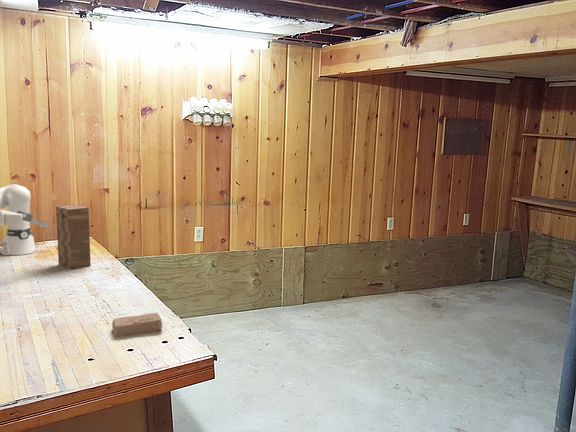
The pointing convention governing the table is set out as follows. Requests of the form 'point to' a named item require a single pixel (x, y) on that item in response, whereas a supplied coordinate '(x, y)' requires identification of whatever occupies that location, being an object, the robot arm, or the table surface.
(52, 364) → the table surface
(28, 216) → the grey stepped bar
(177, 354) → the table surface
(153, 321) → the brick
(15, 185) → the robot arm
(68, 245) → the post
